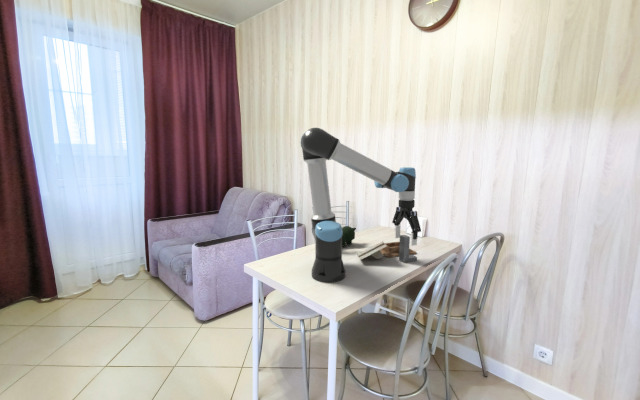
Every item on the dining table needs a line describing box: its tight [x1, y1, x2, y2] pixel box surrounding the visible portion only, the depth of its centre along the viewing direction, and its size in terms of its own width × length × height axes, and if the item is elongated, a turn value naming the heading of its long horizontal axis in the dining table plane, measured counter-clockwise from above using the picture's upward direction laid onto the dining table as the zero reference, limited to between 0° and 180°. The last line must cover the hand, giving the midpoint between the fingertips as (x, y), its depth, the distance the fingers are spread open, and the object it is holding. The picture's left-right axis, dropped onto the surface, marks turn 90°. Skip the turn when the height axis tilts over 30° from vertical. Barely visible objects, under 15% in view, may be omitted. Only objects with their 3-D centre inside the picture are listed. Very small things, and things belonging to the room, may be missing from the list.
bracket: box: [398, 234, 418, 264], centre depth 150 cm, size 8×4×13 cm, turn 109°
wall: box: [357, 241, 387, 261], centre depth 152 cm, size 16×9×15 cm
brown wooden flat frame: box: [380, 241, 417, 259], centre depth 164 cm, size 18×14×4 cm
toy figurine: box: [342, 225, 357, 247], centre depth 173 cm, size 9×19×25 cm
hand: (405, 241), depth 149 cm, fingers open, 13 cm apart
